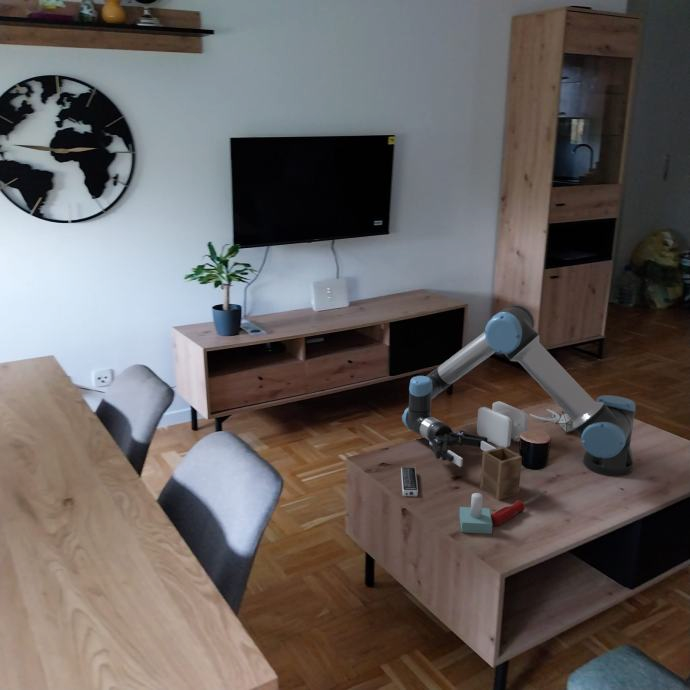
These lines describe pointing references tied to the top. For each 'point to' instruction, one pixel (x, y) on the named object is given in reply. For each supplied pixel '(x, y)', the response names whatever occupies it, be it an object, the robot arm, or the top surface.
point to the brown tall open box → (500, 472)
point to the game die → (565, 422)
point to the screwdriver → (510, 511)
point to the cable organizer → (501, 423)
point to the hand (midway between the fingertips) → (478, 457)
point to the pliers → (548, 417)
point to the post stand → (475, 517)
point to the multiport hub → (409, 481)
